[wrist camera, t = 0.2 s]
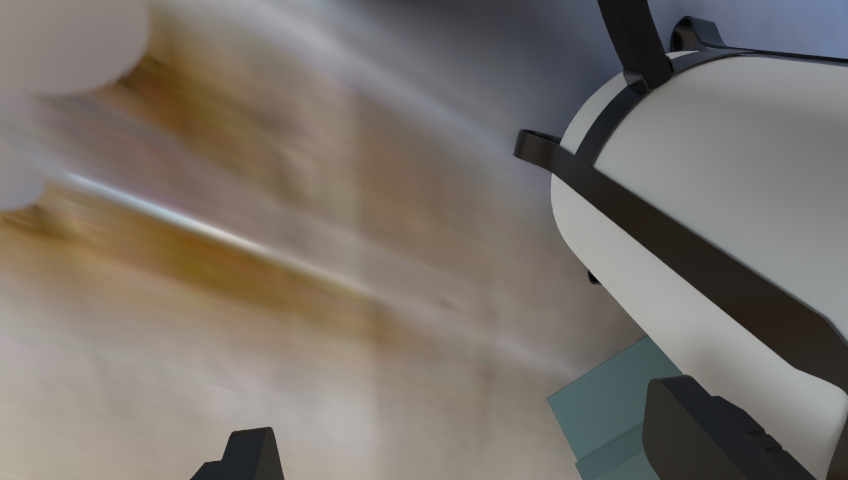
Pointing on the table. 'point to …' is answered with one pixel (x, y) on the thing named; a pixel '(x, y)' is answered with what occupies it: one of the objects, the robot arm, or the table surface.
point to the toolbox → (612, 413)
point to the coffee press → (720, 218)
